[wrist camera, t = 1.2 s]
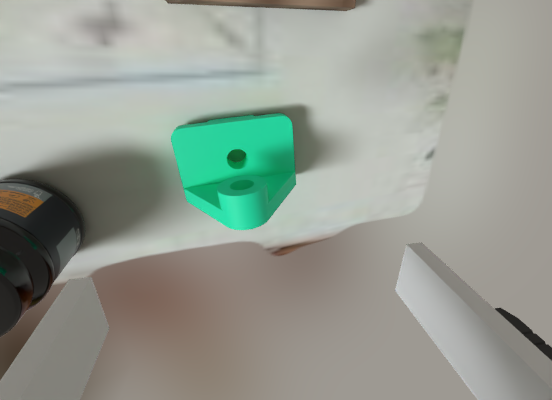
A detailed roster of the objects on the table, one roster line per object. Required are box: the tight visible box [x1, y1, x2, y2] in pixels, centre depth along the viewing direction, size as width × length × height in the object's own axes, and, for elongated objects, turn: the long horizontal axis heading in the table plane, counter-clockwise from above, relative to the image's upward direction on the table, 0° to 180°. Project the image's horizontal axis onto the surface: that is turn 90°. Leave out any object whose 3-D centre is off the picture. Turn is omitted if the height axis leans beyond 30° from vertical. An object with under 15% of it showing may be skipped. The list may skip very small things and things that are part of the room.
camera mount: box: [171, 113, 296, 230], centre depth 28 cm, size 12×8×10 cm, turn 95°
